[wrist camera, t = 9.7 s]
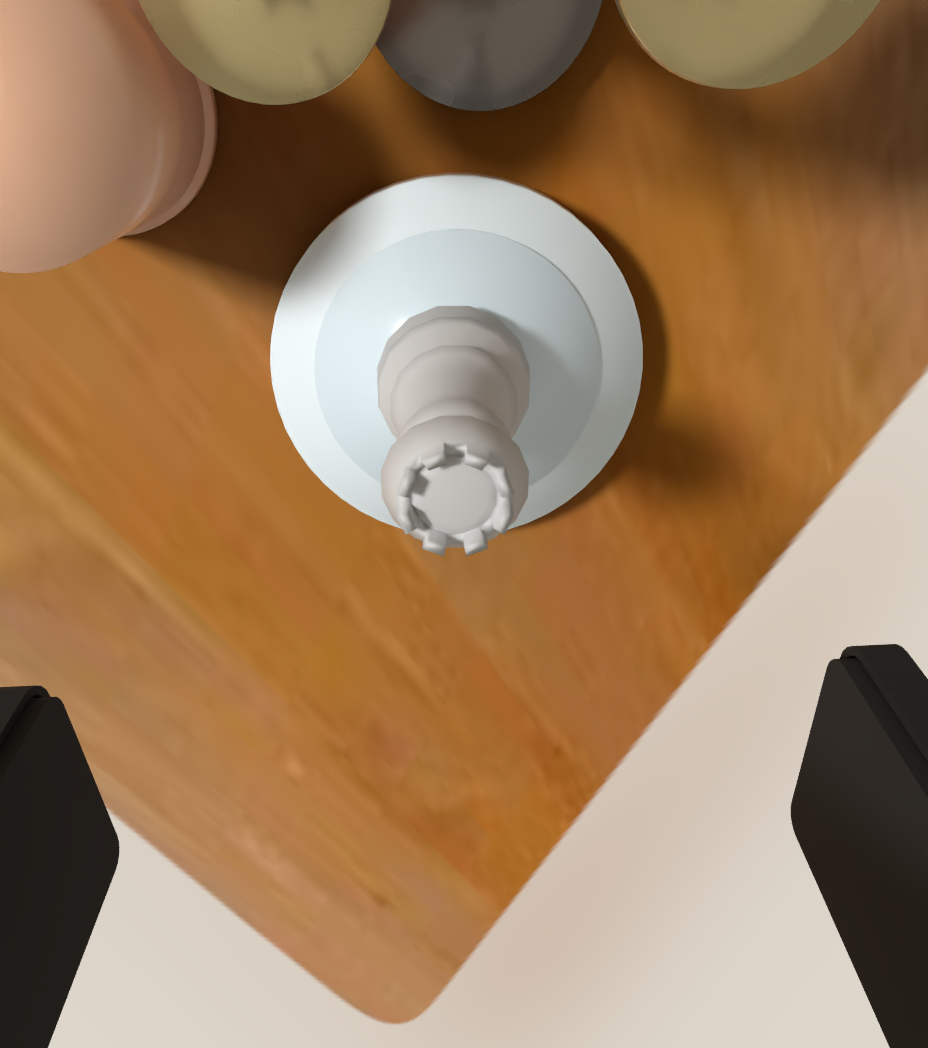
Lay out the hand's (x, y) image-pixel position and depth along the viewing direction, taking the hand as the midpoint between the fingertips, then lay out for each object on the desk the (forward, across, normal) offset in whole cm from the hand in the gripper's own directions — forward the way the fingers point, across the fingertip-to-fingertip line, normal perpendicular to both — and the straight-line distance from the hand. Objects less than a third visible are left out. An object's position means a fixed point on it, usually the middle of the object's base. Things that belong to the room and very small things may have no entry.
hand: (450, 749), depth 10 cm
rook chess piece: (+16, 0, +1) cm, 16 cm away
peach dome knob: (+17, +9, -6) cm, 20 cm away
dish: (+17, 0, +1) cm, 17 cm away
